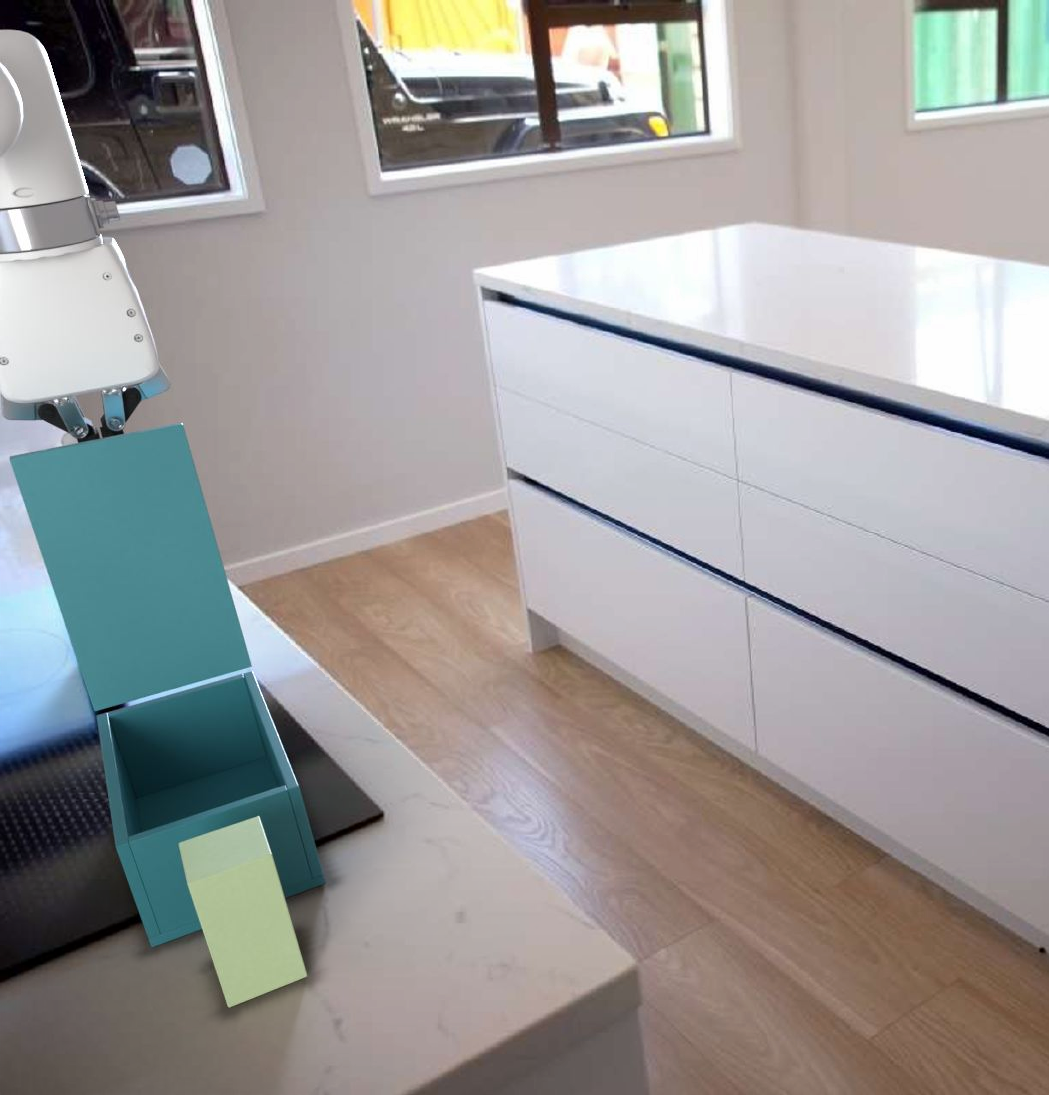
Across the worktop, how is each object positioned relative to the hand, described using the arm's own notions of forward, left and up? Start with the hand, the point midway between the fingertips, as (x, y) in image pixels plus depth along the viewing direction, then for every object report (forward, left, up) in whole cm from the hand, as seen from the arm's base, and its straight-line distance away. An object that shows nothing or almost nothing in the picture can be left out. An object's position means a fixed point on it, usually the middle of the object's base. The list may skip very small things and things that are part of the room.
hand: (115, 480), depth 92 cm
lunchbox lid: (-4, -8, -4) cm, 10 cm away
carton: (-14, -30, -21) cm, 39 cm away
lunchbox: (-8, -16, -21) cm, 28 cm away
